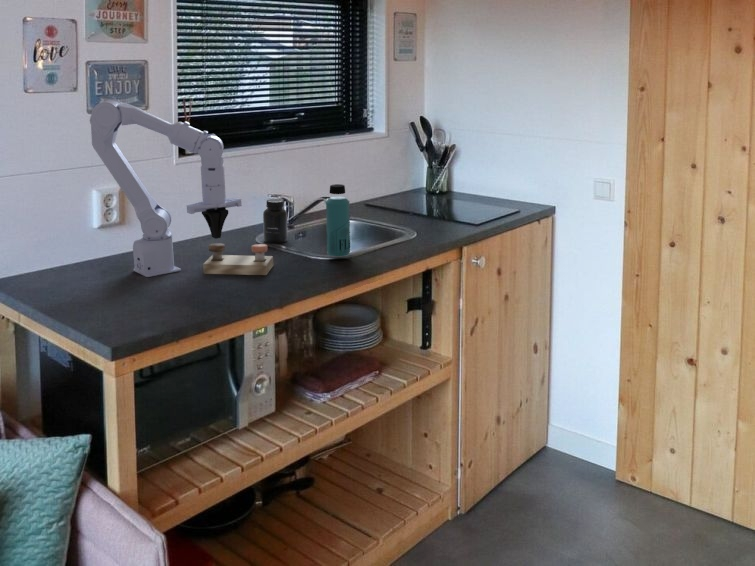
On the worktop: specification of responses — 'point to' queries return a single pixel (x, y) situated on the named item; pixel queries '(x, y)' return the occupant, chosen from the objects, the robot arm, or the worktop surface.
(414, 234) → the worktop surface
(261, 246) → the terracotta plunger
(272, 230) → the supplement bottle
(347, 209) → the beverage bottle
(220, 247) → the walnut plunger
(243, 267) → the board
